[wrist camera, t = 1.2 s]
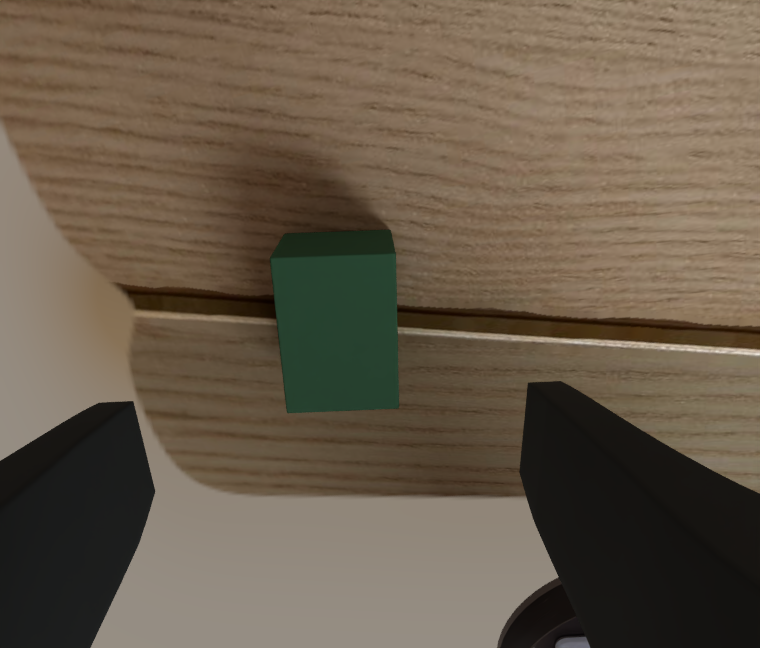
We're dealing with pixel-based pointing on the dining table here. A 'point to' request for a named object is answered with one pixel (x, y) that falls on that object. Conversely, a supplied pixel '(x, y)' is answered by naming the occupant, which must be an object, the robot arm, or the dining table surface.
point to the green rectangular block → (337, 320)
